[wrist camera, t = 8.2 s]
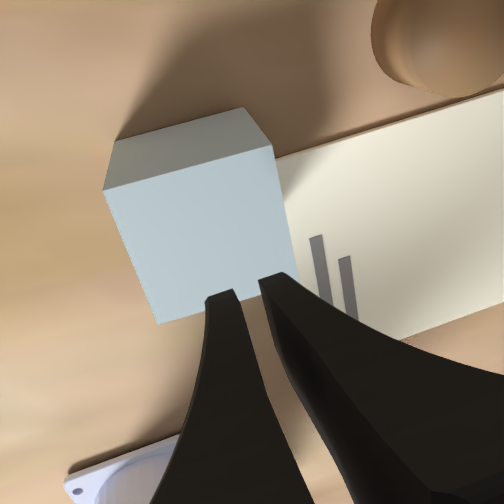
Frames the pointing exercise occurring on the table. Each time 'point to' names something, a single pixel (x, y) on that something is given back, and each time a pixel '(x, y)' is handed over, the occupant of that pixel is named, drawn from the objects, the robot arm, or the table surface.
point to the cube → (200, 211)
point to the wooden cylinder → (440, 43)
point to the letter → (403, 217)
